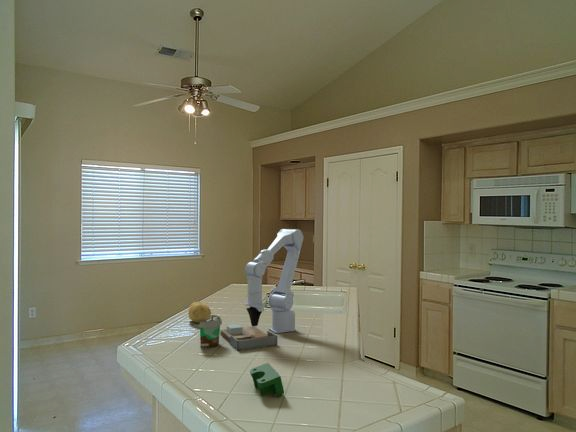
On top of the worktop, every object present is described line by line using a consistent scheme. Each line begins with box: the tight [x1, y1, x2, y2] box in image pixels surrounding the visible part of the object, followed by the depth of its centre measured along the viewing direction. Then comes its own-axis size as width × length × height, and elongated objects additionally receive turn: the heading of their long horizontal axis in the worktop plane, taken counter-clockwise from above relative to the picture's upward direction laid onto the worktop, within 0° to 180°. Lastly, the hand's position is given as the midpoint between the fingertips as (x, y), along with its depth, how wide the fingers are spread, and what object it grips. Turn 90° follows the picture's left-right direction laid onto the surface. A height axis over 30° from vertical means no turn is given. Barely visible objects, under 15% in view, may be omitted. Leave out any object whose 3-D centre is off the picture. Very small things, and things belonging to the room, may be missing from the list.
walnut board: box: [219, 325, 267, 344], centre depth 171 cm, size 15×14×2 cm
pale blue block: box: [226, 323, 243, 335], centre depth 170 cm, size 5×5×2 cm
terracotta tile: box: [251, 332, 268, 339], centre depth 164 cm, size 5×5×2 cm
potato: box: [188, 301, 212, 324], centre depth 194 cm, size 10×14×10 cm
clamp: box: [249, 362, 285, 397], centre depth 119 cm, size 12×6×9 cm, turn 14°
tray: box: [229, 330, 278, 351], centre depth 161 cm, size 16×8×4 cm, turn 116°
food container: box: [198, 314, 223, 349], centre depth 160 cm, size 12×6×10 cm, turn 168°
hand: (254, 325), depth 170 cm, fingers closed
